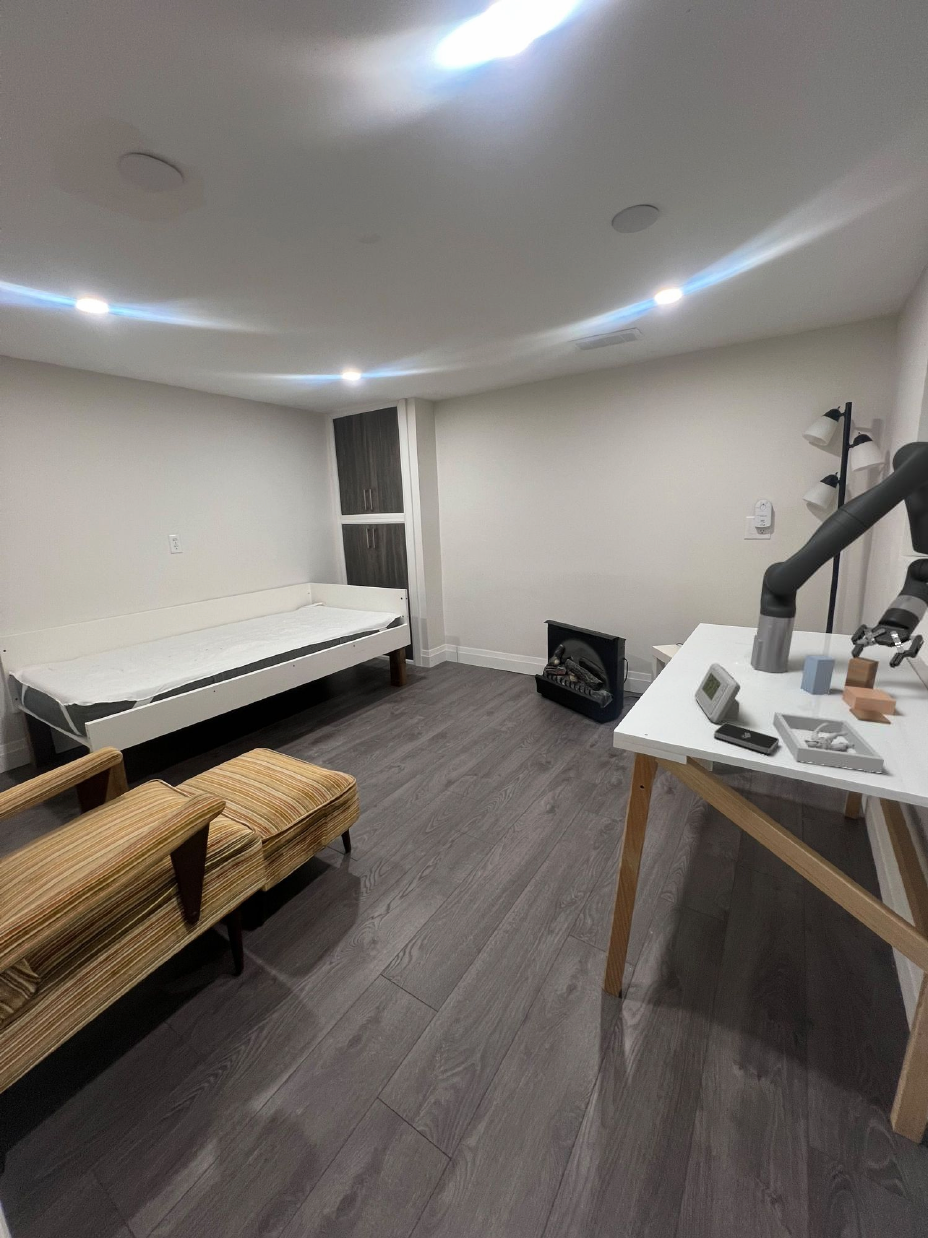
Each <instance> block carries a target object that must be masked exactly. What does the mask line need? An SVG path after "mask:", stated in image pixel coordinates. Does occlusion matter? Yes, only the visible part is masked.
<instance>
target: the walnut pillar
mask: <svg viewBox="0 0 928 1238" xmlns="http://www.w3.org/2000/svg"><path fill="white" fill-rule="evenodd" d="M848 661H849V663H848V667H847V673H846V678H845V681H844V682H845V683H844V687H845V686H851V687H860V688H869V689H874V687H875V686H874V685H875V682H876V678H877V677H876V676H877V672H878V667H879V663H880V662H879V660H878V661H877V660H874V659H870V658H865V657H861V656H859V657H856V658H853V657H851V658H850V659H849V660H848Z"/></svg>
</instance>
